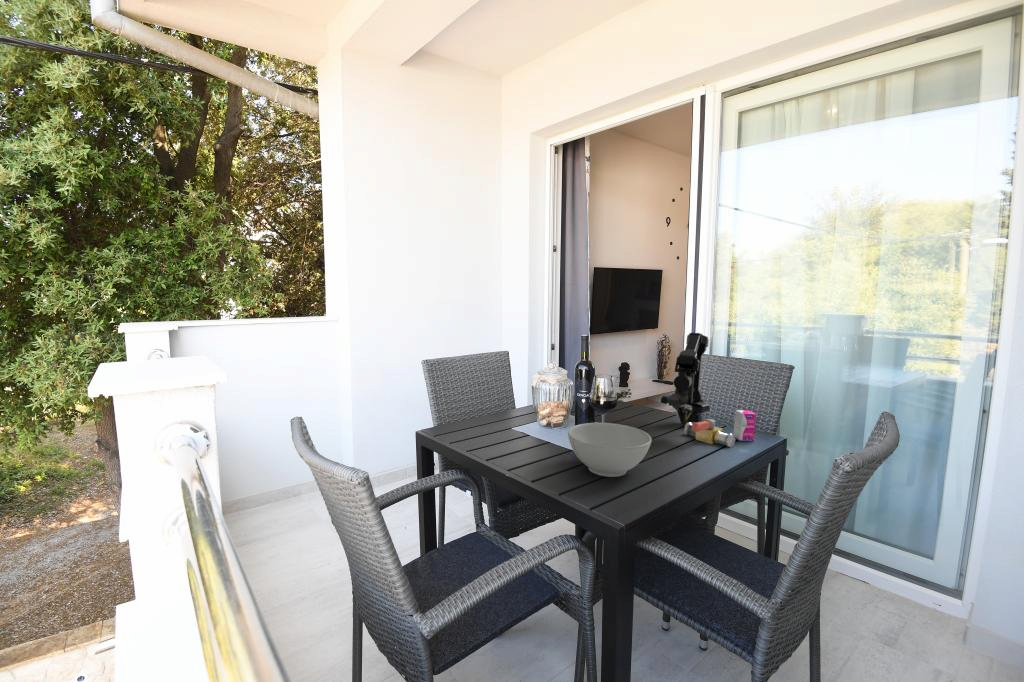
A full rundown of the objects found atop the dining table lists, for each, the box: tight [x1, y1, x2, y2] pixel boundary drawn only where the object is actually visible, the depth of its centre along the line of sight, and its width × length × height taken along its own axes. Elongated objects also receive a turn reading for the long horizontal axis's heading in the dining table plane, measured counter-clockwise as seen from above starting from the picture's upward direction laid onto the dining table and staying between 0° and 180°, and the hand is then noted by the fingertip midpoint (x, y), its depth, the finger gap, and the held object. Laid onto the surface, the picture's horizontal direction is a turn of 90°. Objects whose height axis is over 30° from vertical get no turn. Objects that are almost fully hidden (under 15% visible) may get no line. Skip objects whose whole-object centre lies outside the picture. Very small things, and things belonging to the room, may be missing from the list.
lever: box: [692, 418, 716, 432], centre depth 191 cm, size 13×4×3 cm, turn 126°
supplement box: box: [732, 409, 757, 442], centre depth 197 cm, size 6×6×12 cm
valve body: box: [683, 422, 736, 448], centre depth 194 cm, size 19×7×5 cm, turn 36°
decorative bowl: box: [567, 422, 652, 478], centre depth 160 cm, size 27×27×12 cm
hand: (682, 424), depth 194 cm, fingers closed
